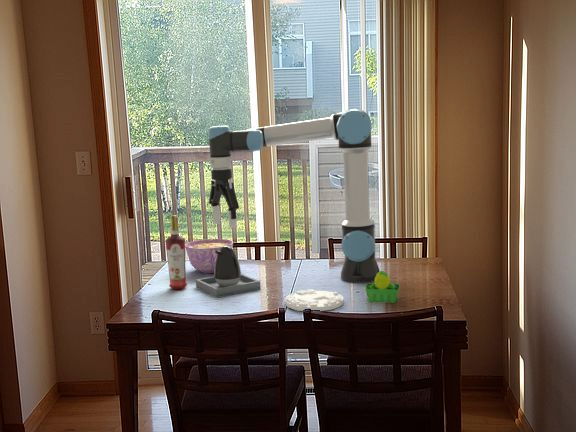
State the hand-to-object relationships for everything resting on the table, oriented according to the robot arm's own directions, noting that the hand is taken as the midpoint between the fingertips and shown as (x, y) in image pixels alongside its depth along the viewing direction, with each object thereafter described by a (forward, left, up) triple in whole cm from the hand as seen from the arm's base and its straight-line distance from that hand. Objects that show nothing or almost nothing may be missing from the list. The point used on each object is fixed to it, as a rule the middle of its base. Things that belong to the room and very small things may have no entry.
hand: (224, 225), depth 270 cm
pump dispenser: (0, 0, -23) cm, 23 cm away
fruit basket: (-50, -34, -24) cm, 65 cm away
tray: (0, 0, -24) cm, 24 cm away
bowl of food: (+30, -7, -24) cm, 39 cm away
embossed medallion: (-38, -14, -25) cm, 47 cm away
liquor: (+12, +15, -24) cm, 31 cm away
